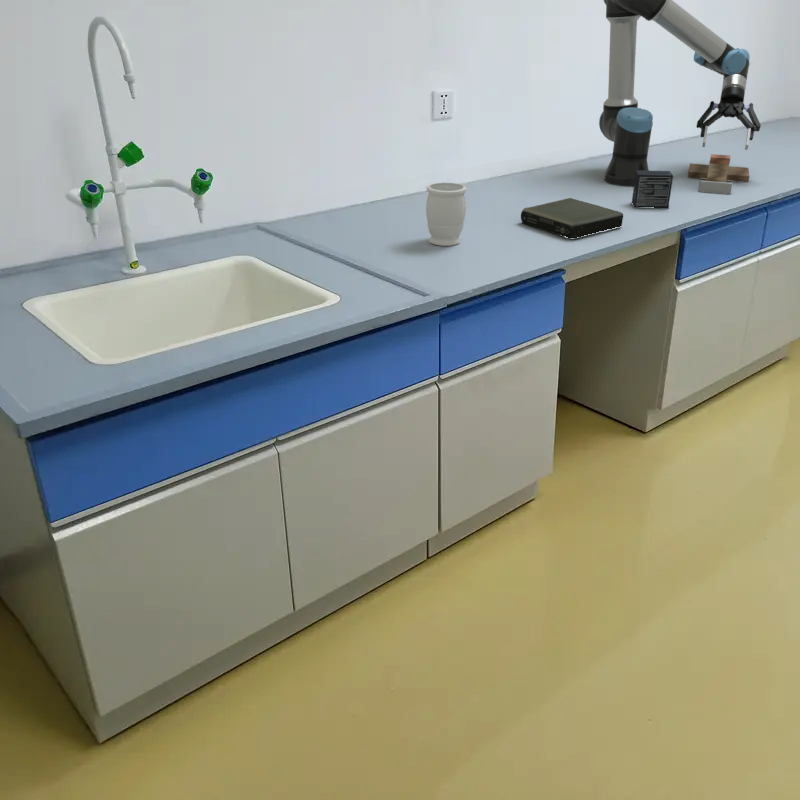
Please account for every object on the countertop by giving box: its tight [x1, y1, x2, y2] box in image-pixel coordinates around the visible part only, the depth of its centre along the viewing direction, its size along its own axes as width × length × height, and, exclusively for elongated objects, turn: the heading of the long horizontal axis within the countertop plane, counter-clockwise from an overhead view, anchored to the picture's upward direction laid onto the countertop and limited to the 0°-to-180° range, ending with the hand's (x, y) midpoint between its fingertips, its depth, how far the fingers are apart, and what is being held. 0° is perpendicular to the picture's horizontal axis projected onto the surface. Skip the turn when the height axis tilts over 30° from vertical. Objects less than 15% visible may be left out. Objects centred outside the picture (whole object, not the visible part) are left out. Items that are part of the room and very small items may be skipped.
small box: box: [631, 170, 674, 209], centre depth 251 cm, size 11×6×10 cm, turn 84°
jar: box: [425, 182, 468, 247], centre depth 217 cm, size 11×10×15 cm
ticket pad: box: [706, 153, 731, 182], centre depth 269 cm, size 6×5×11 cm
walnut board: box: [687, 163, 750, 183], centre depth 289 cm, size 20×14×2 cm
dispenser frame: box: [698, 178, 733, 195], centre depth 271 cm, size 10×9×4 cm
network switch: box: [520, 197, 624, 238], centre depth 234 cm, size 23×24×5 cm
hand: (725, 146), depth 272 cm, fingers open, 13 cm apart
